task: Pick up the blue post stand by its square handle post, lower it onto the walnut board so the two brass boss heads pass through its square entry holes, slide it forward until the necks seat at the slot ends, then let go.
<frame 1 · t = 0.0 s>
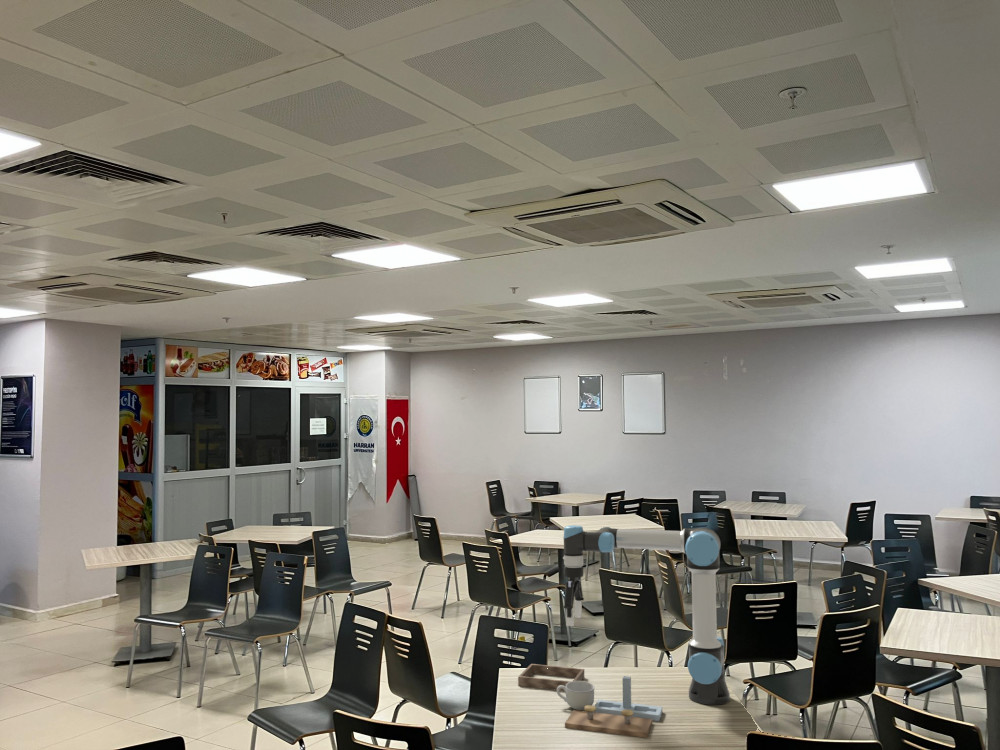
hand: (574, 621, 300), 28 cm above the table, fingers open, 13 cm apart
boss board: (608, 725, 267), on the table
open brown wooden frame: (551, 681, 314), on the table
teacup: (575, 707, 285), on the table
blue post stand: (629, 713, 279), on the table
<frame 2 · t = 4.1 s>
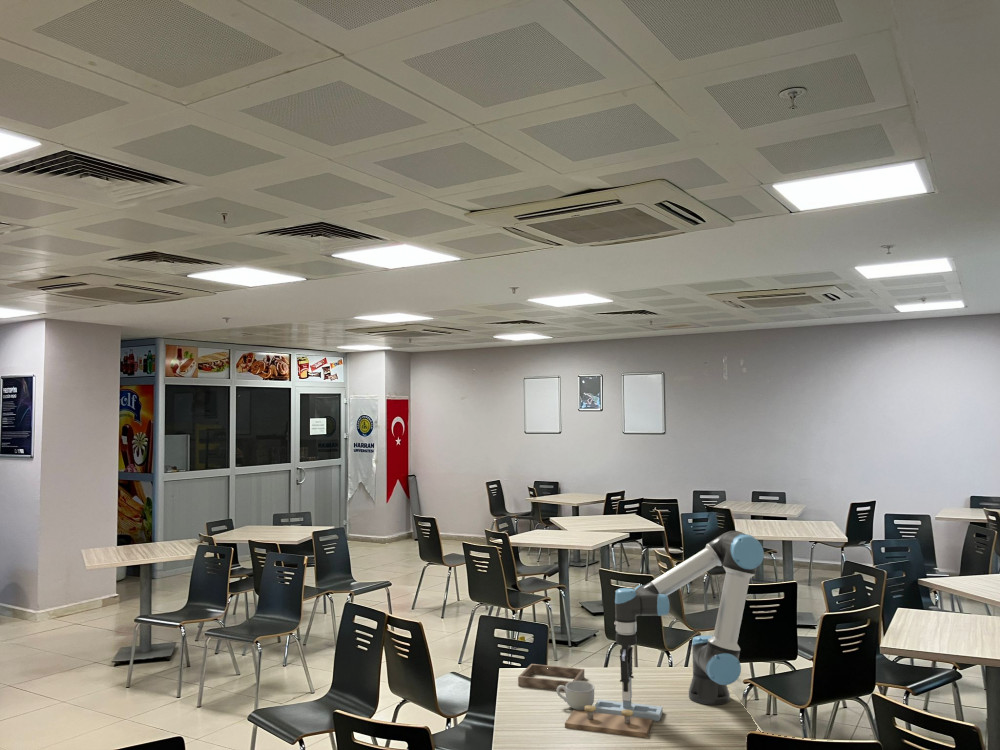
hand: (627, 698, 280), 5 cm above the table, fingers closed on blue post stand, 3 cm apart
blue post stand: (630, 713, 279), on the table, touching gripper
everything else where it was.
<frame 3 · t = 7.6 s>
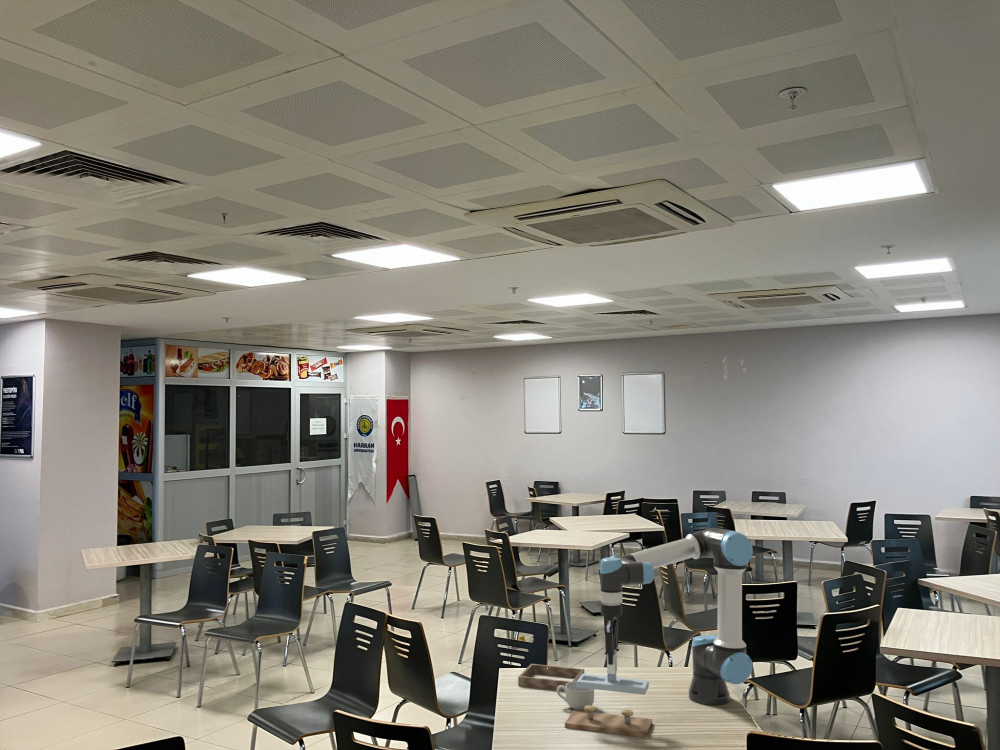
hand: (612, 672, 268), 18 cm above the table, fingers closed on blue post stand, 3 cm apart
blue post stand: (614, 687, 268), point 13 cm above the table, touching gripper
everything else where it was.
when the fingers open (7 cm above the table, at t = 11.6 s): blue post stand stays where it is, resting on boss board.
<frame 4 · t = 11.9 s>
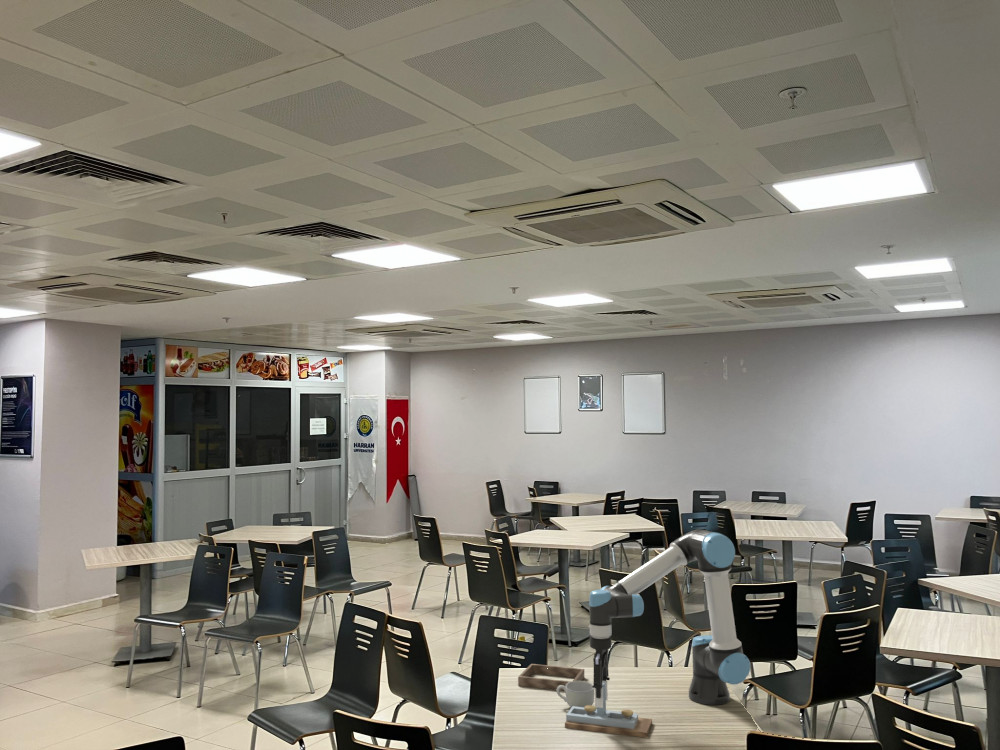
hand: (601, 703, 269), 7 cm above the table, fingers open, 7 cm apart
blue post stand: (604, 720, 268), point 1 cm above the table, touching boss board
everything else where it was.
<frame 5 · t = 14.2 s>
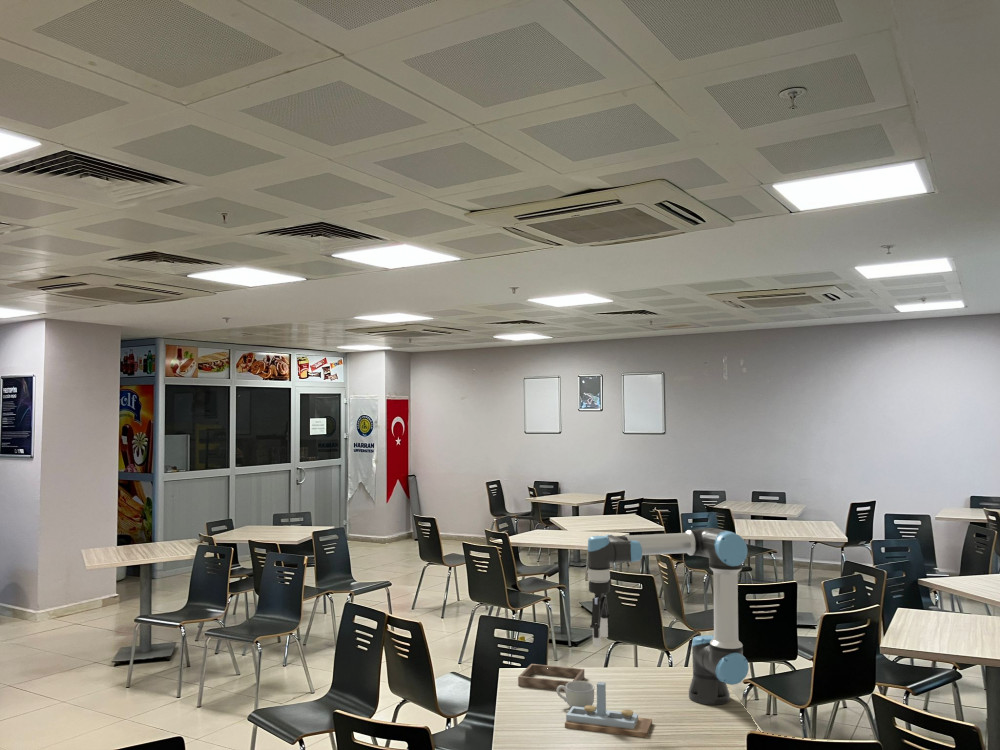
hand: (600, 641, 273), 28 cm above the table, fingers open, 13 cm apart
nothing on the table moved.
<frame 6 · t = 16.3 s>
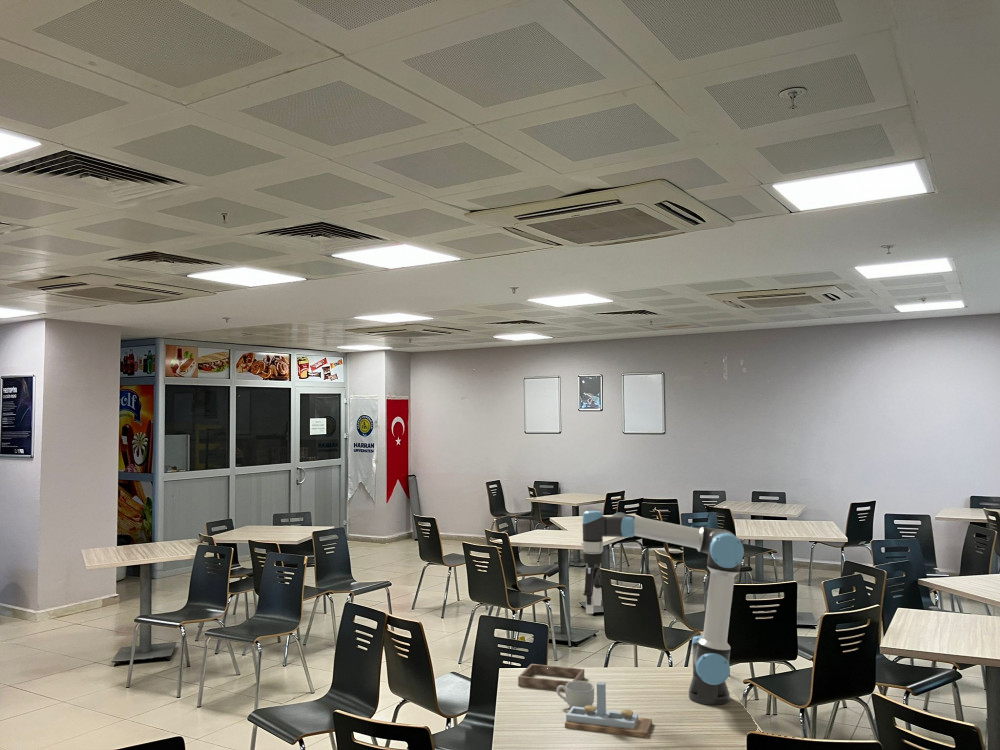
hand: (593, 609, 291), 35 cm above the table, fingers open, 13 cm apart
nothing on the table moved.
at the end: blue post stand 0.1 cm from the target spot on the boss board, point 1.5 cm above the boss board's base; blue post stand tilted 0°; the gripper is holding nothing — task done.
